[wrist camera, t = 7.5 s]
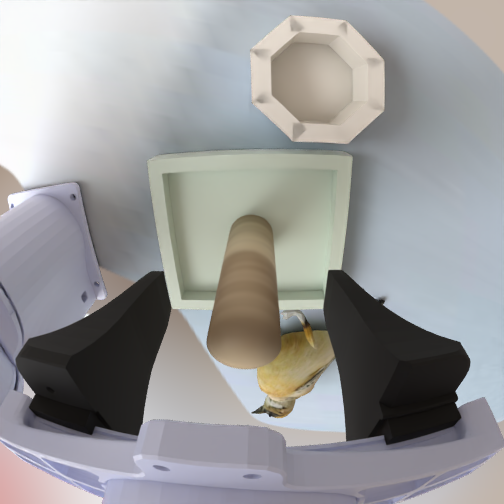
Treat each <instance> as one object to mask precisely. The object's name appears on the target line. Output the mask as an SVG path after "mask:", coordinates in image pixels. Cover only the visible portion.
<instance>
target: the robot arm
mask: <svg viewBox="0 0 504 504" xmlns="http://www.w3.org/2000/svg"><path fill="white" fill-rule="evenodd" d="M73 194H74V195H75V196H76V199H75V198H74V197H73ZM8 203H9V207H10V210H9V211H7V212H6V213H4V214H3V215H1V216H0V442H1V443H2V444H3V445H5V446H6V447H7V448H8V449H9V450H10V451H12V452H13V453H14V454H16V455H17V456H18V457H19V458H20V459H22V460H23V461H25V462H27V463H29V464H30V465H32V466H34V467H37V468H38V469H40V470H42V471H44V472H46V473H48V474H50V475H52V476H54V477H56V478H58V479H60V480H62V481H64V482H66V483H68V484H71V485H73V486H75V487H77V488H80V489H82V490H84V491H87V492H89V493H92V494H94V495H97V496H99V497H102V498H103V501H102V504H396V503H399V502H402V501H405V500H408V499H411V498H414V497H416V496H419V495H422V494H424V493H426V492H429V491H431V490H434V489H436V488H439V487H441V486H444V485H446V484H448V483H451V482H453V481H455V480H457V479H460V478H462V477H464V476H466V475H468V474H470V473H472V472H473V471H475V470H476V469H477V468H479V467H480V466H481V465H483V464H484V463H485V462H487V461H488V460H489V459H490V458H492V457H493V456H494V455H495V454H496V453H498V452H499V451H500V450H501V449H502V448H503V447H504V439H503V436H502V434H501V432H500V429H499V427H498V424H497V422H496V420H495V418H494V415H493V413H492V411H491V409H490V407H489V405H488V403H487V401H486V399H485V397H482V398H479V399H477V400H474V401H471V402H468V403H466V404H464V405H462V406H460V407H459V408H457V406H456V404H455V402H456V401H457V400H458V396H457V394H456V392H455V391H456V389H457V388H458V386H459V385H460V384H461V382H462V381H463V379H464V378H465V376H466V374H467V372H468V371H469V367H470V358H469V357H468V355H467V353H466V351H465V350H464V348H463V346H462V345H461V343H460V342H458V341H454V340H451V339H448V338H445V337H441V336H439V335H436V334H434V333H431V332H429V331H426V330H424V329H422V328H420V327H418V326H416V325H414V324H412V323H410V322H408V321H406V320H405V319H403V318H401V317H400V316H398V315H396V314H395V313H393V312H392V311H390V310H389V309H387V308H386V307H385V306H383V305H382V304H381V303H379V302H378V301H377V300H376V299H374V298H373V297H372V296H371V295H369V294H368V293H367V292H366V291H365V290H364V289H363V288H361V287H360V286H359V285H358V284H357V283H356V282H355V281H354V280H353V279H352V278H350V277H349V276H348V275H347V274H346V273H345V272H344V271H343V270H328V276H327V283H326V291H325V298H324V305H323V309H324V316H325V322H326V328H327V331H328V334H329V338H330V341H331V345H332V348H333V351H334V355H335V358H336V362H337V365H338V370H339V374H340V381H341V387H342V395H343V403H344V413H345V426H346V442H338V443H331V444H320V445H309V446H294V447H286V441H285V439H284V437H283V436H282V434H280V433H279V432H276V431H274V430H271V429H269V428H266V427H258V426H249V425H220V424H204V423H192V422H182V421H173V420H150V421H148V422H146V423H144V424H142V423H143V415H144V407H145V401H146V395H147V389H148V385H149V380H150V375H151V371H152V368H153V364H154V362H155V359H156V356H157V353H158V351H159V348H160V345H161V343H162V340H163V337H164V334H165V332H166V329H167V326H168V321H169V317H170V312H171V304H170V299H169V295H168V290H167V286H166V281H165V276H164V271H151V272H149V273H148V274H146V275H145V276H144V277H142V278H141V279H140V280H138V281H137V282H136V283H135V284H133V285H132V286H131V287H130V288H128V289H127V290H126V291H124V292H123V293H122V294H120V295H119V296H118V297H116V298H115V299H113V300H112V301H111V302H109V303H108V304H107V305H105V306H104V307H102V308H101V309H99V310H97V311H96V312H94V313H92V314H90V315H89V316H87V317H85V318H84V316H85V315H86V313H87V312H88V310H89V309H90V307H91V306H92V304H93V303H94V301H95V300H96V299H101V300H103V299H105V298H106V297H107V291H106V288H105V285H104V282H103V279H102V276H101V272H100V269H99V265H98V262H97V259H96V255H95V251H94V248H93V244H92V240H91V236H90V233H89V228H88V224H87V220H86V216H85V211H84V207H83V202H82V197H81V192H80V188H79V185H78V184H77V183H75V182H71V183H64V184H59V185H53V186H47V187H42V188H37V189H31V190H26V191H22V192H17V193H13V194H10V195H9V196H8ZM97 282H98V283H99V284H98V283H97ZM23 378H24V379H25V381H26V382H27V384H28V385H29V386H30V387H31V389H32V390H33V391H34V393H35V396H34V398H33V399H32V398H30V397H29V396H27V395H25V394H23V389H24V381H23Z"/></svg>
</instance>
